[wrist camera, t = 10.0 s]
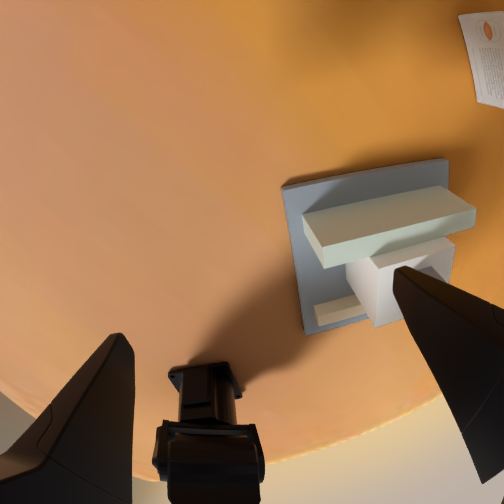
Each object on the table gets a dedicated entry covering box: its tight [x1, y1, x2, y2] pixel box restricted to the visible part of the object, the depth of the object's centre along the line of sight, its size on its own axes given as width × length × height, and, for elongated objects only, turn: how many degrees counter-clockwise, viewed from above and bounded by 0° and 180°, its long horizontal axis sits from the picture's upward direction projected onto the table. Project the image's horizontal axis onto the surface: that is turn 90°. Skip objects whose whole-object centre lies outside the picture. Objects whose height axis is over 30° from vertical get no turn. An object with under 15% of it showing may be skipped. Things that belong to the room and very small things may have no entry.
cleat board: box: [281, 158, 477, 336], centre depth 22 cm, size 14×14×6 cm
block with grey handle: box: [345, 236, 456, 328], centre depth 19 cm, size 5×6×10 cm
